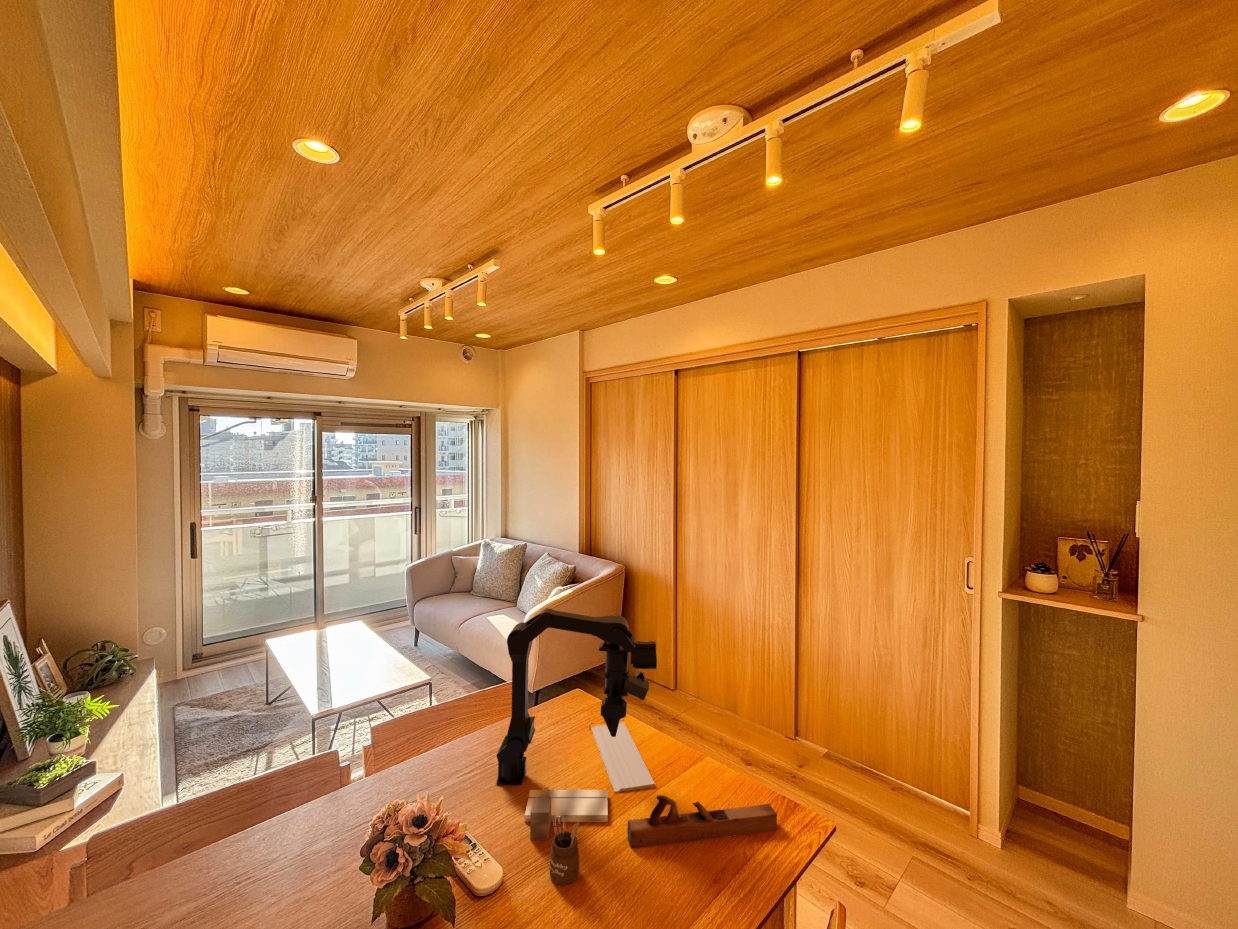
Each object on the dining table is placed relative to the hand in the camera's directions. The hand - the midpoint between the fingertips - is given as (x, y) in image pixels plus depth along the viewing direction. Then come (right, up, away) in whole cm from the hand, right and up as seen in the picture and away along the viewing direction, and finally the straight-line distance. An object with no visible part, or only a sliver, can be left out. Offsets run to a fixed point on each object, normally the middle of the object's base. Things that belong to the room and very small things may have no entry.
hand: (614, 727), depth 135 cm
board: (-11, -14, -11) cm, 21 cm away
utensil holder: (-10, -15, -30) cm, 35 cm away
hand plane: (+20, -16, -18) cm, 31 cm away
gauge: (-17, -14, -14) cm, 26 cm away
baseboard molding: (+1, -15, +12) cm, 19 cm away
